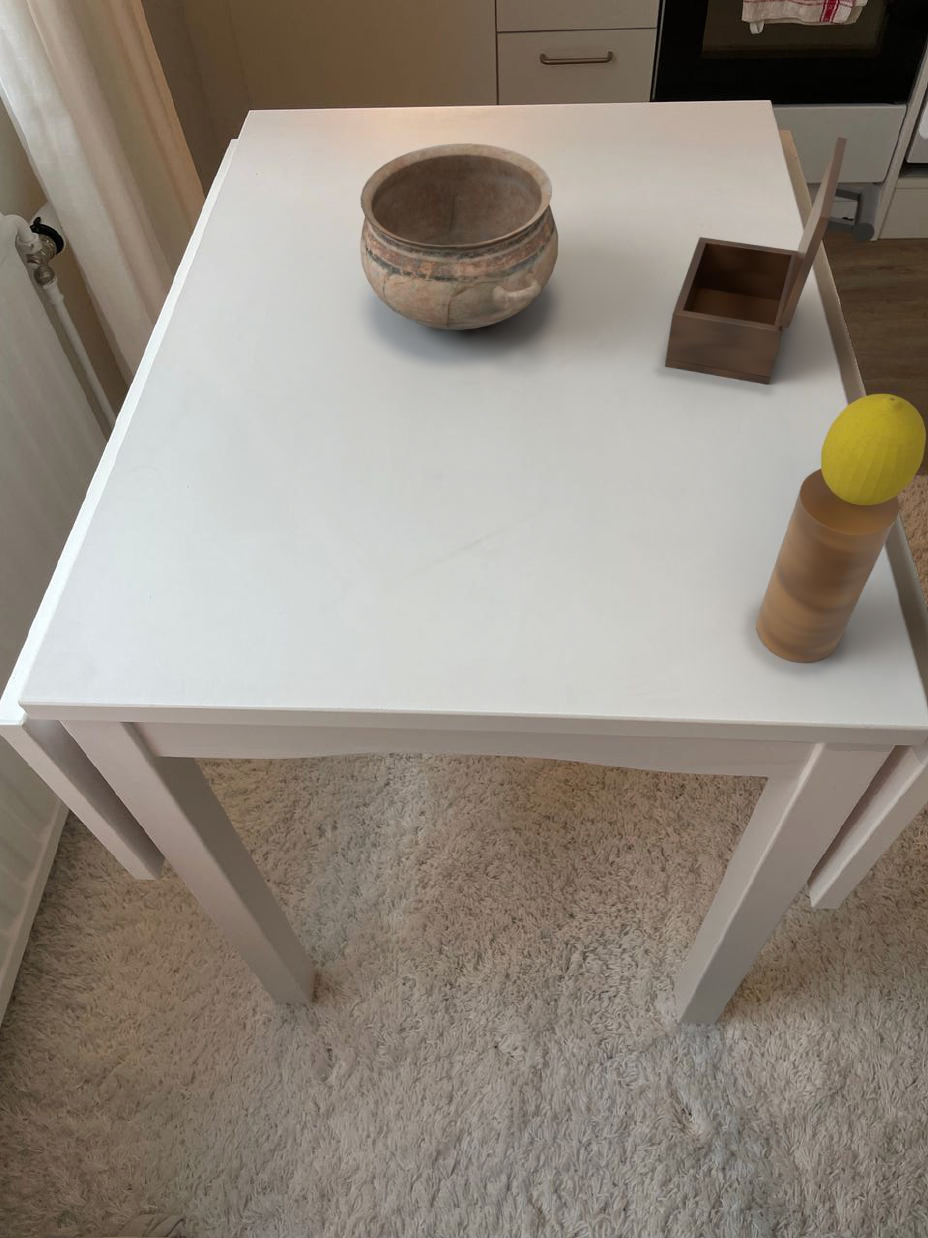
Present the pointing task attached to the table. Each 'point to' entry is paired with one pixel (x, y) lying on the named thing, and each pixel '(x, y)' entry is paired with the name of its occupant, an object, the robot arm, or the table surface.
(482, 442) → the table surface
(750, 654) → the table surface
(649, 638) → the table surface
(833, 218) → the lid
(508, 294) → the cooking pot
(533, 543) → the table surface
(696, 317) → the chest
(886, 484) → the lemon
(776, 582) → the stand
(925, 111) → the robot arm
